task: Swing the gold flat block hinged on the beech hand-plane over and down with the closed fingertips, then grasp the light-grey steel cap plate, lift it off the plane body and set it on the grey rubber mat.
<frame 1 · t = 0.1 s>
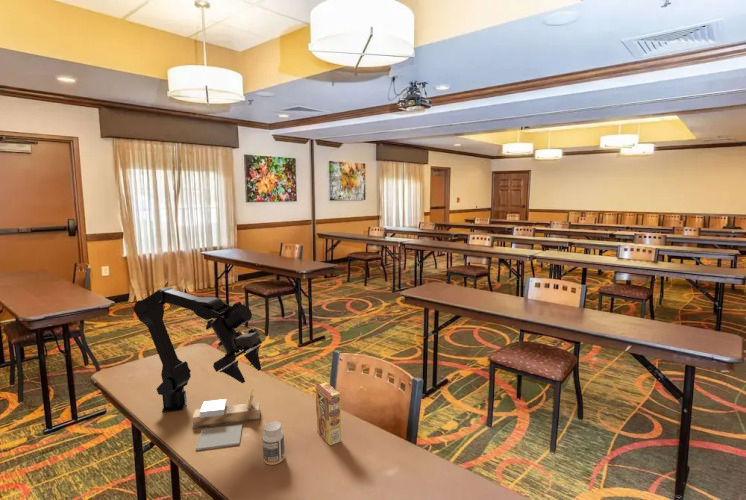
hand: (252, 376, 132), 15 cm above the table, tool tilted 35°, fingers open, 9 cm apart
candy box: (328, 437, 125), on the table
pill bottle: (274, 459, 114), on the table
plane body: (227, 419, 134), on the table
cap plate: (214, 411, 133), point 3 cm above the table, touching plane body
gold flat block: (250, 399, 135), point 6 cm above the table, hinge at -15.0°
mat: (220, 437, 124), on the table
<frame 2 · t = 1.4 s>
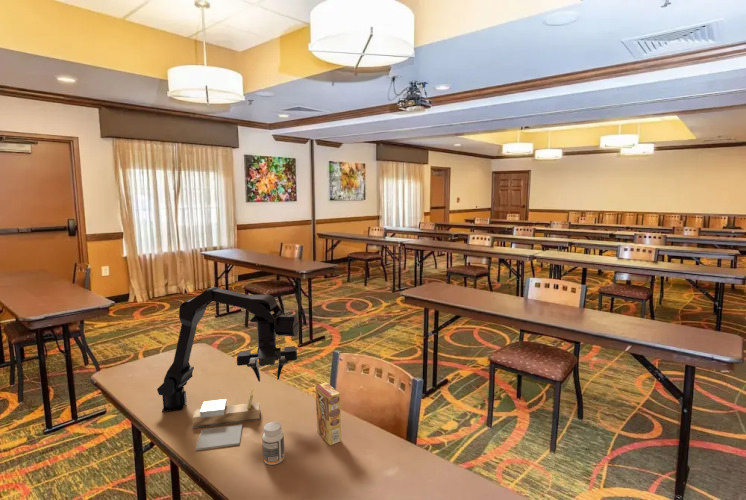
hand: (268, 380, 135), 12 cm above the table, tool pointing down, fingers open, 6 cm apart
nothing on the table moved.
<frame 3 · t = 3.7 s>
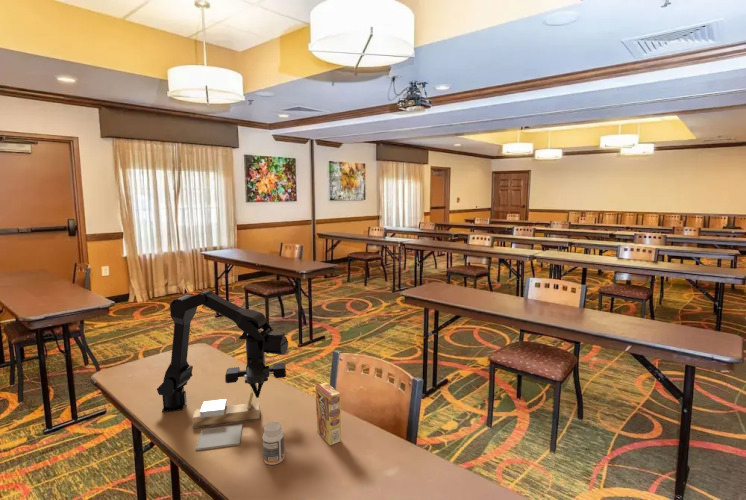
hand: (257, 397, 136), 7 cm above the table, tool pointing down, fingers closed
gold flat block: (250, 399, 135), point 6 cm above the table, hinge at -13.9°, touching gripper
everything else where it was.
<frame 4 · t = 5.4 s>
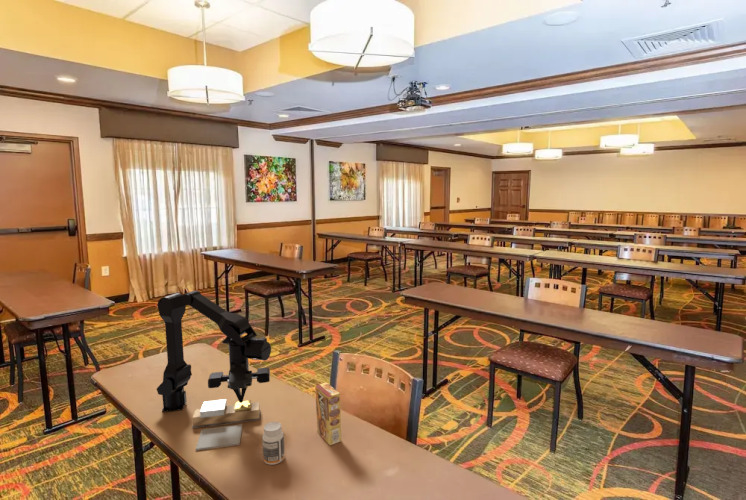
hand: (241, 402, 134), 6 cm above the table, tool pointing down, fingers closed
gold flat block: (243, 405, 135), point 4 cm above the table, hinge at 90.5°
everything else where it was.
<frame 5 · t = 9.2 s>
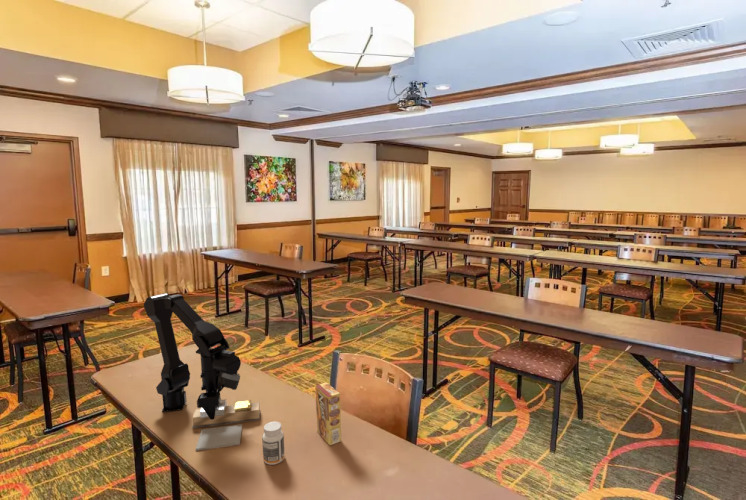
hand: (214, 413, 133), 3 cm above the table, tool pointing down, fingers closed on cap plate, 6 cm apart
cap plate: (214, 411, 133), point 3 cm above the table, touching gripper, plane body
everything else where it was.
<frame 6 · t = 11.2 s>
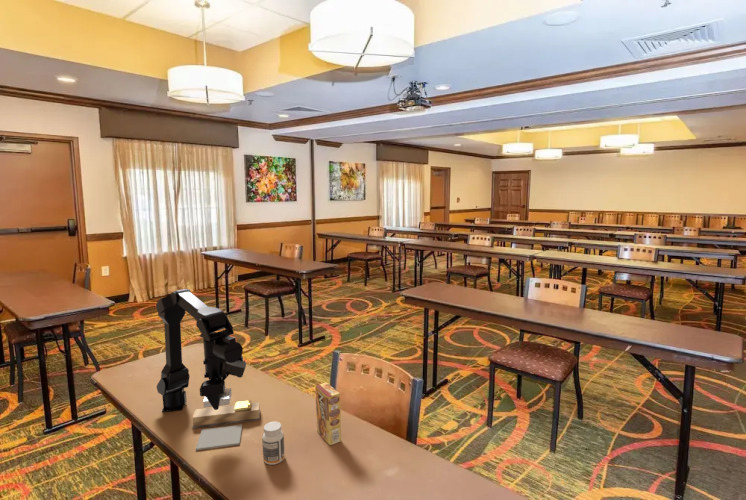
hand: (218, 403, 123), 11 cm above the table, tool pointing down, fingers closed on cap plate, 6 cm apart
cap plate: (218, 400, 123), point 12 cm above the table, touching gripper
everything else where it was.
when the fingers open (1 cm above the table, at t = 13.4 s): cap plate drops 2 cm, resting on mat.
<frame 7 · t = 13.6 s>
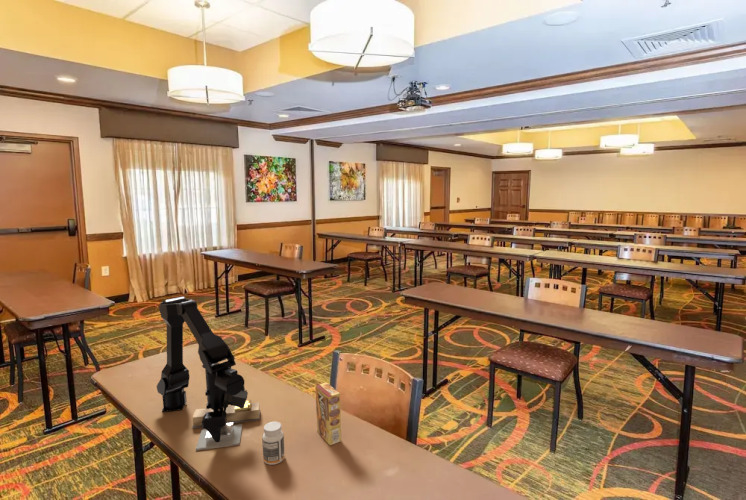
hand: (219, 433, 124), 1 cm above the table, tool pointing down, fingers open, 9 cm apart
cap plate: (220, 435, 124), point 1 cm above the table, touching mat
everything else where it was.
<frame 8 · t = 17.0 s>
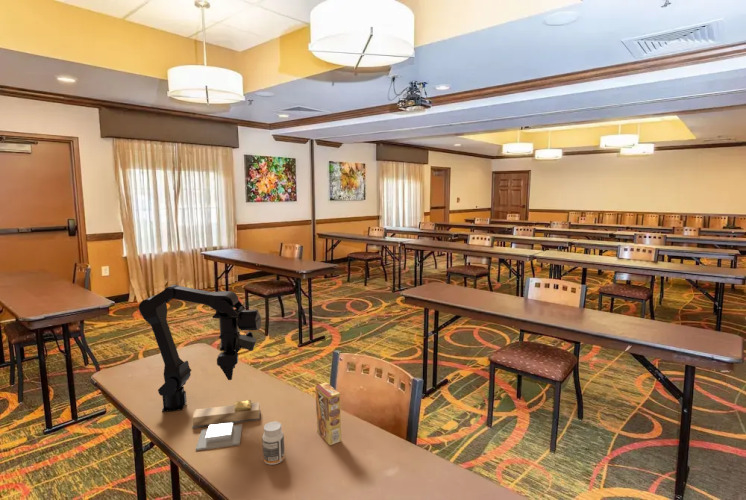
hand: (231, 373, 140), 12 cm above the table, tool pointing down, fingers open, 9 cm apart
nothing on the table moved.
at the end: gold flat block at +90° (first picture: -15°); cap plate inside the target area on the mat (0.1 cm from its centre), point 0.6 cm above the mat's base; cap plate touching mat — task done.
